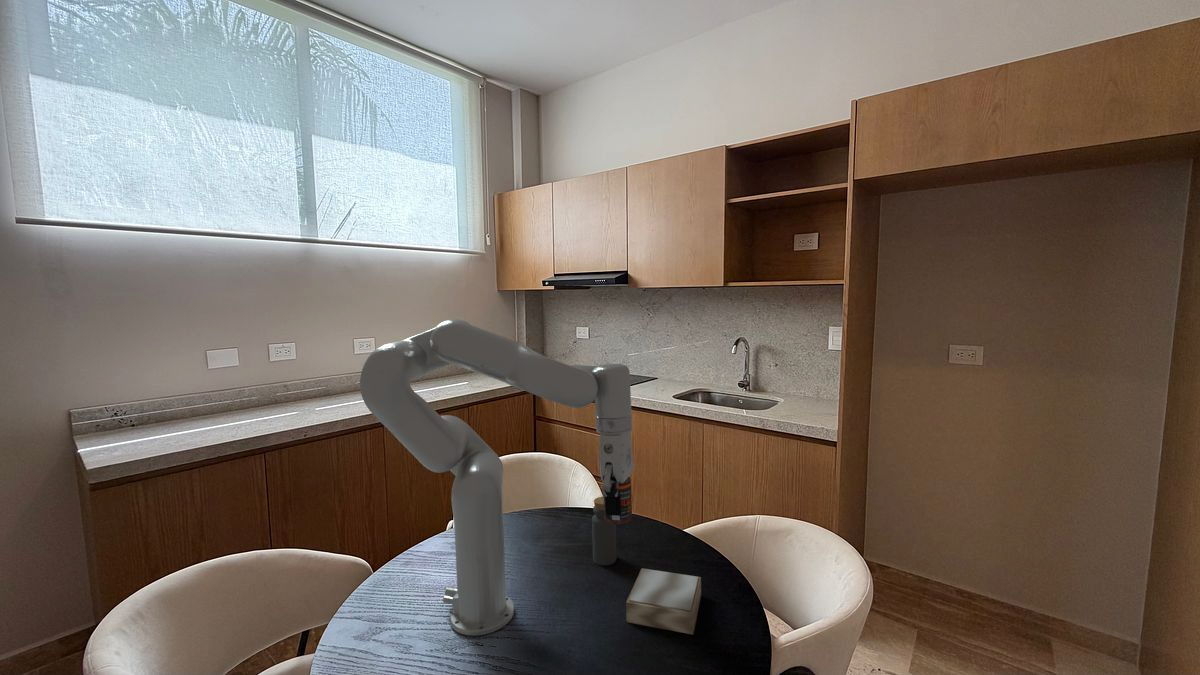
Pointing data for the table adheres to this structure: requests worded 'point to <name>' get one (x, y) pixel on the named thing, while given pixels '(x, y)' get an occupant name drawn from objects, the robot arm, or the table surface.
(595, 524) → the bottle
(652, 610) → the grey square box
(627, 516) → the supplement bottle
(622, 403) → the robot arm
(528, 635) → the table surface
